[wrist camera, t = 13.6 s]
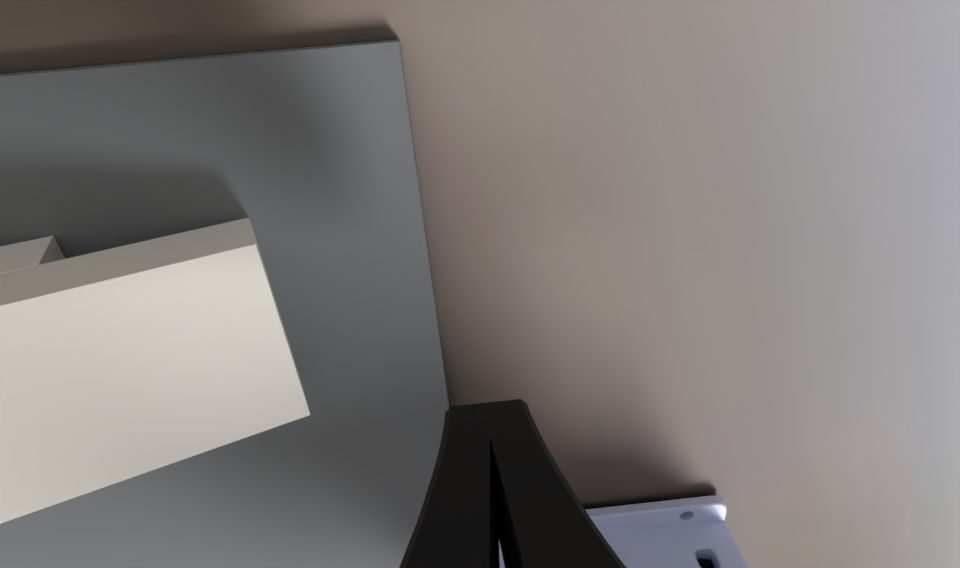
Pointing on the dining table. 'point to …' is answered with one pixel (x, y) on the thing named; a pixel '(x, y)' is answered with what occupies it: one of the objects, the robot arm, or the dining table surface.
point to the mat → (293, 278)
